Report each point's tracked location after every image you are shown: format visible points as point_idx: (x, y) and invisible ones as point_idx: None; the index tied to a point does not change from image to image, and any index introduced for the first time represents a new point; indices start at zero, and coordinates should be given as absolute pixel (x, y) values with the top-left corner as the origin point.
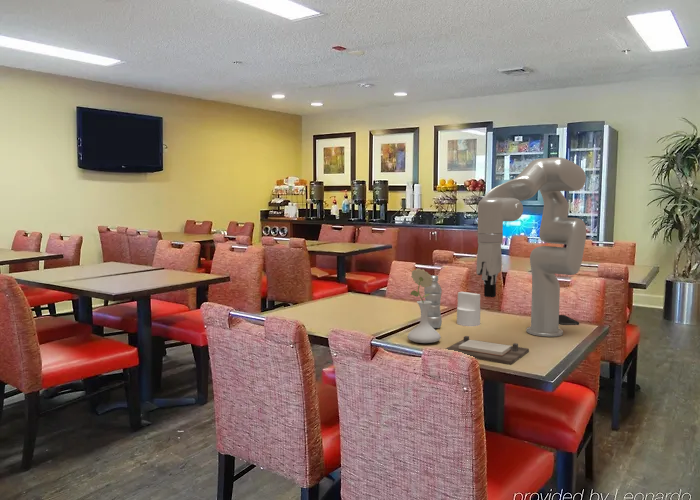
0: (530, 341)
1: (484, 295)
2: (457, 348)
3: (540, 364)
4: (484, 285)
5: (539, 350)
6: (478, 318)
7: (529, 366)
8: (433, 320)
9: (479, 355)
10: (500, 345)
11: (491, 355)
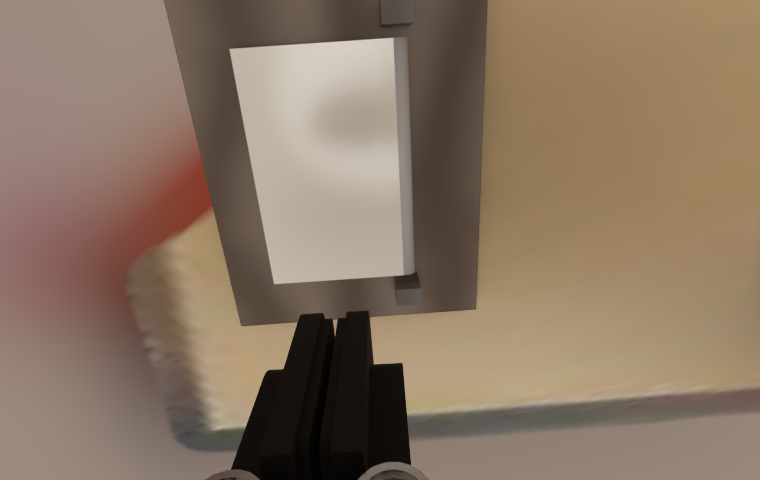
0: (658, 246)
1: (299, 320)
2: (251, 29)
3: None
4: (267, 435)
5: (516, 324)
6: None
7: (275, 368)
8: None
9: (219, 192)
10: (381, 233)
11: (262, 233)
